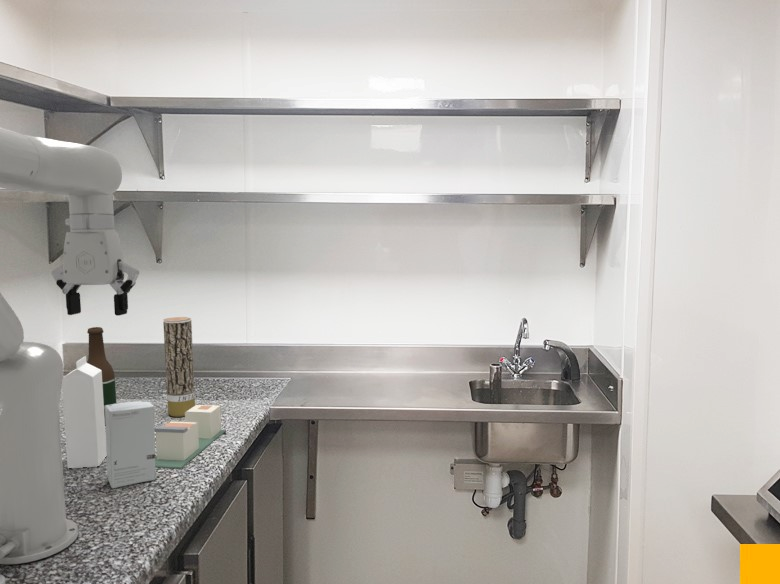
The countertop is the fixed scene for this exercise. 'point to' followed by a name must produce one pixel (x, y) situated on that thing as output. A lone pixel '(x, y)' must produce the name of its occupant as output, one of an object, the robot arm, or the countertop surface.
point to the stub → (205, 419)
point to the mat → (179, 463)
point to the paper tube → (179, 365)
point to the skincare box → (130, 443)
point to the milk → (84, 416)
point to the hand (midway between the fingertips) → (97, 314)
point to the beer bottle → (101, 364)
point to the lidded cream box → (176, 440)
